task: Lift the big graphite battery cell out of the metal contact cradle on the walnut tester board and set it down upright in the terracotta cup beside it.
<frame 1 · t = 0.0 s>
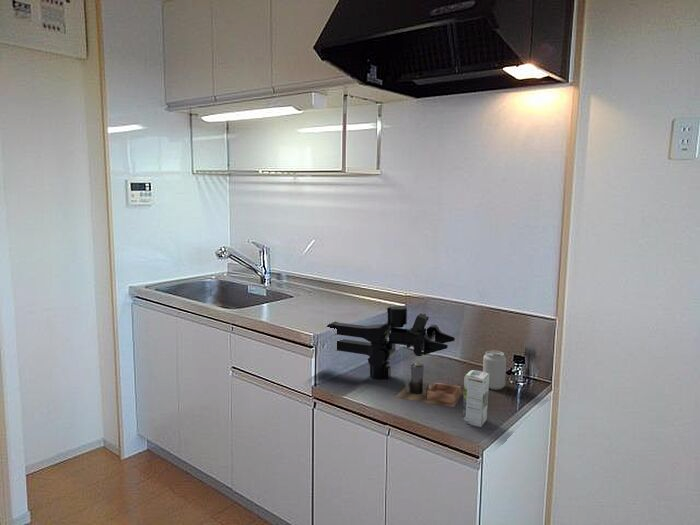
hand: (451, 342, 172), 17 cm above the countertop, tool horizontal, fingers open, 9 cm apart
can: (493, 387, 177), on the countertop
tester: (430, 396, 169), on the countertop
syrup box: (475, 422, 151), on the countertop
cell: (417, 391, 170), point 1 cm above the countertop, touching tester
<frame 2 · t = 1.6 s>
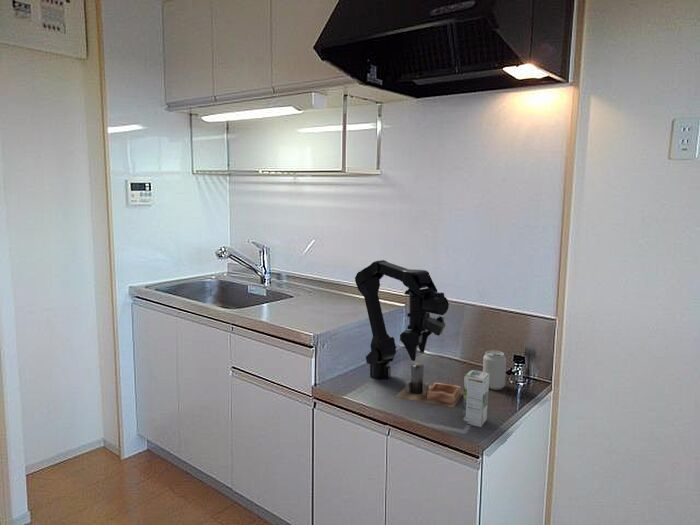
hand: (417, 356, 169), 13 cm above the countertop, tool pointing down, fingers open, 9 cm apart
nothing on the countertop moved.
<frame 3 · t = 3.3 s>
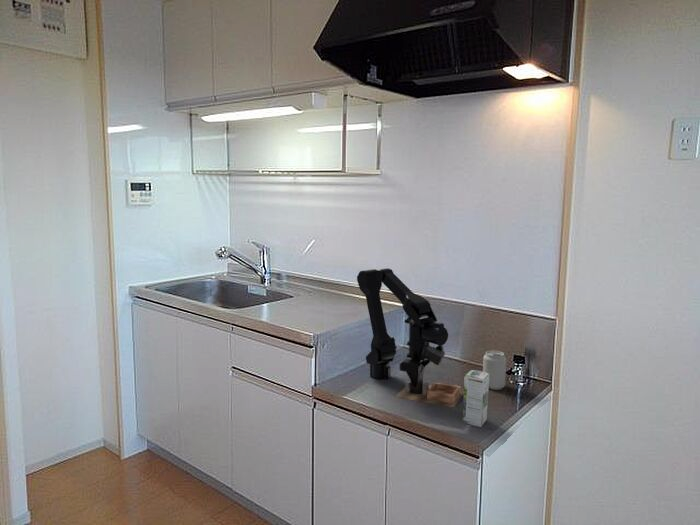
hand: (417, 384, 170), 4 cm above the countertop, tool pointing down, fingers closed on cell, 4 cm apart
cell: (417, 391, 170), point 1 cm above the countertop, touching gripper, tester
everything else where it was.
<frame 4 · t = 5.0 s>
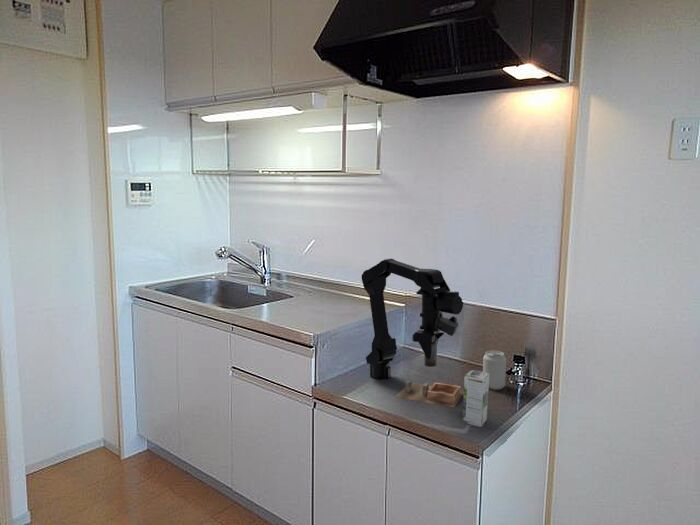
hand: (430, 357, 167), 13 cm above the countertop, tool pointing down, fingers closed on cell, 4 cm apart
cell: (430, 364, 167), point 11 cm above the countertop, touching gripper
everything else where it was.
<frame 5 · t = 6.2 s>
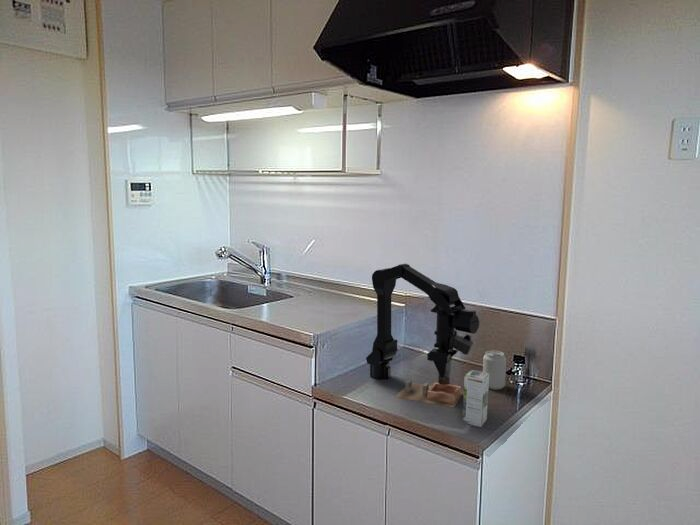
hand: (444, 375, 166), 8 cm above the countertop, tool pointing down, fingers closed on cell, 4 cm apart
cell: (444, 382, 166), point 6 cm above the countertop, touching gripper
everything else where it was.
when the fingers open (5 cm above the countertop, at t = 7.0 s): cell drops 1 cm, resting on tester.
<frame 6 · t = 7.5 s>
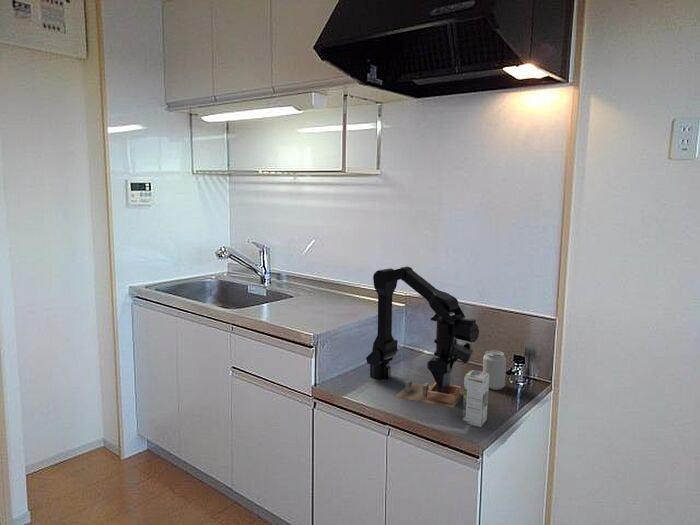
hand: (444, 383, 166), 5 cm above the countertop, tool pointing down, fingers open, 9 cm apart
cell: (443, 395, 166), point 1 cm above the countertop, touching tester
everything else where it was.
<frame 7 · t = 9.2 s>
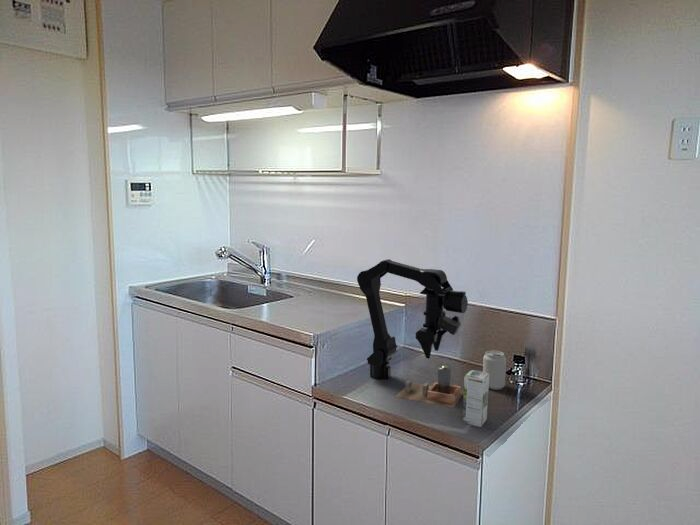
hand: (432, 354, 172), 13 cm above the countertop, tool pointing down, fingers open, 9 cm apart
nothing on the countertop moved.
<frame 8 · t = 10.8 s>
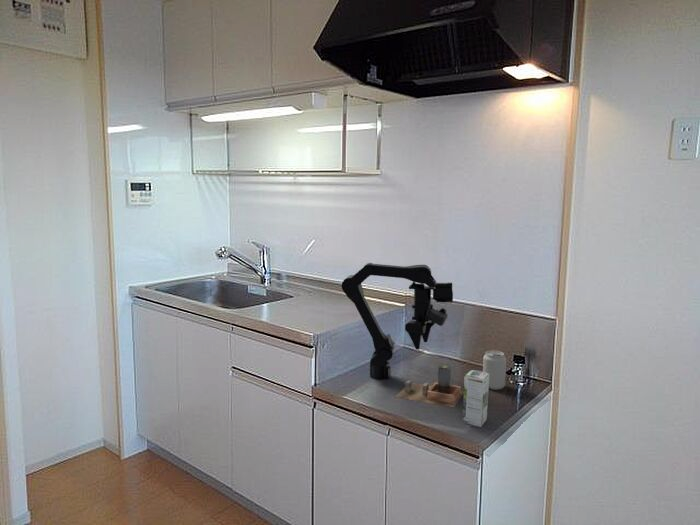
hand: (421, 345, 180), 13 cm above the countertop, tool pointing down, fingers open, 9 cm apart
nothing on the countertop moved.
at the end: cell 0.0 cm from the target spot on the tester, point 1.4 cm above the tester's base; cell tilted 1°; the gripper is holding nothing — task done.
